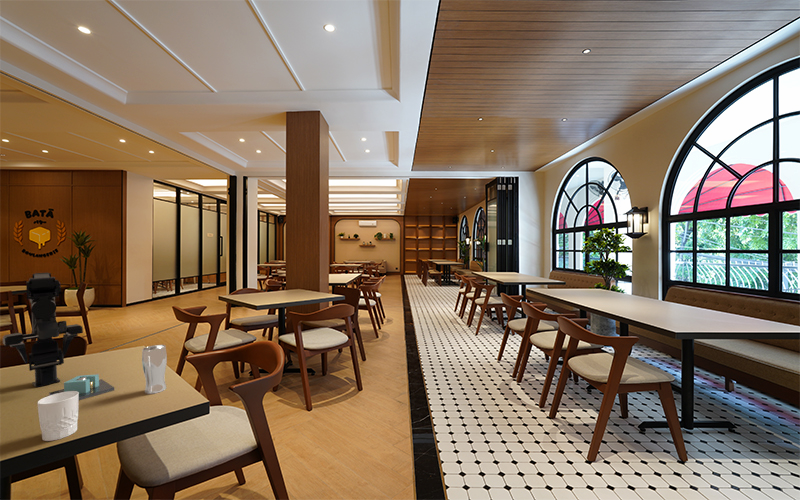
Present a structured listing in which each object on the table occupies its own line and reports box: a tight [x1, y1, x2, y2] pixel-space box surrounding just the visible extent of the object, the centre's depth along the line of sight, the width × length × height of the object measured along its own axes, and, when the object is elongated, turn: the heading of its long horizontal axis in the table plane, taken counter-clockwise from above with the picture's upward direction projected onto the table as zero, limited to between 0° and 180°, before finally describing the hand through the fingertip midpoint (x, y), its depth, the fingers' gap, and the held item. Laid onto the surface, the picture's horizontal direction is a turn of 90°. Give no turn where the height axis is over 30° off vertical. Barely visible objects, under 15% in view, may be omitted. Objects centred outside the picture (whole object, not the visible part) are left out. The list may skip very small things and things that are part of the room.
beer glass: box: [141, 344, 168, 395], centre depth 120 cm, size 7×7×15 cm
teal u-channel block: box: [63, 373, 100, 394], centre depth 120 cm, size 6×6×4 cm
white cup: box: [36, 391, 80, 442], centre depth 93 cm, size 8×8×10 cm
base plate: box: [48, 377, 115, 401], centre depth 120 cm, size 14×14×5 cm
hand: (45, 359), depth 120 cm, fingers open, 9 cm apart
